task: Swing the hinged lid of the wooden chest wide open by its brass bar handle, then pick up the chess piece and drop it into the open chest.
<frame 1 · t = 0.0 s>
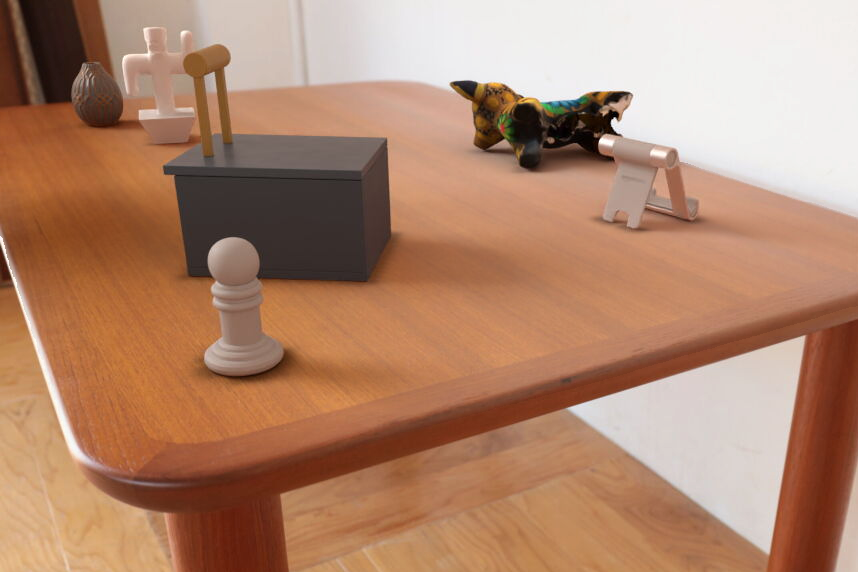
chess piece: (245, 363, 63), on the table
chest: (296, 254, 83), on the table
lid: (278, 106, 77), point 13 cm above the table, hinge at 0.0°
vase: (102, 125, 134), on the table
tablet stand: (642, 219, 95), on the table
figurine: (170, 141, 125), on the table
dog figurine: (540, 155, 121), on the table
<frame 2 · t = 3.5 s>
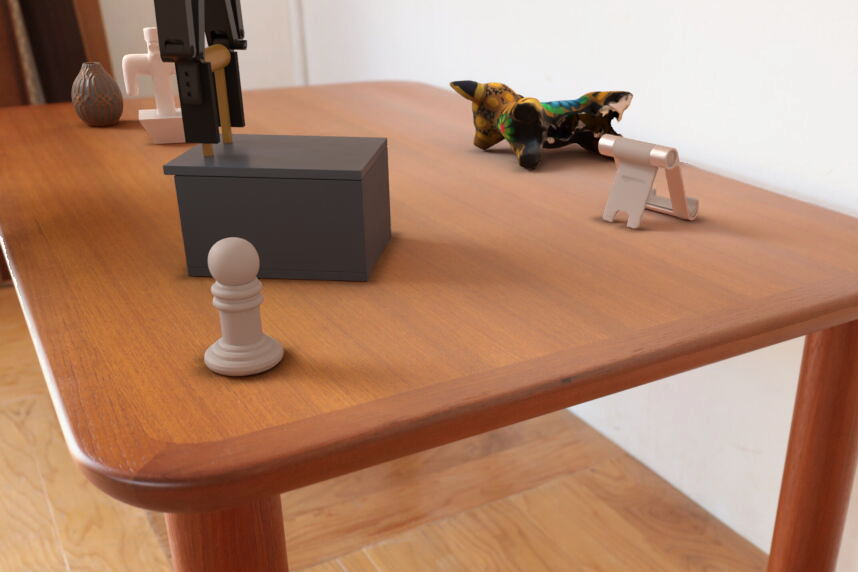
hand: (216, 133, 78), 11 cm above the table, tool pointing down, fingers closed on lid, 6 cm apart
lid: (278, 105, 77), point 14 cm above the table, hinge at 0.0°, touching gripper
everything else where it was.
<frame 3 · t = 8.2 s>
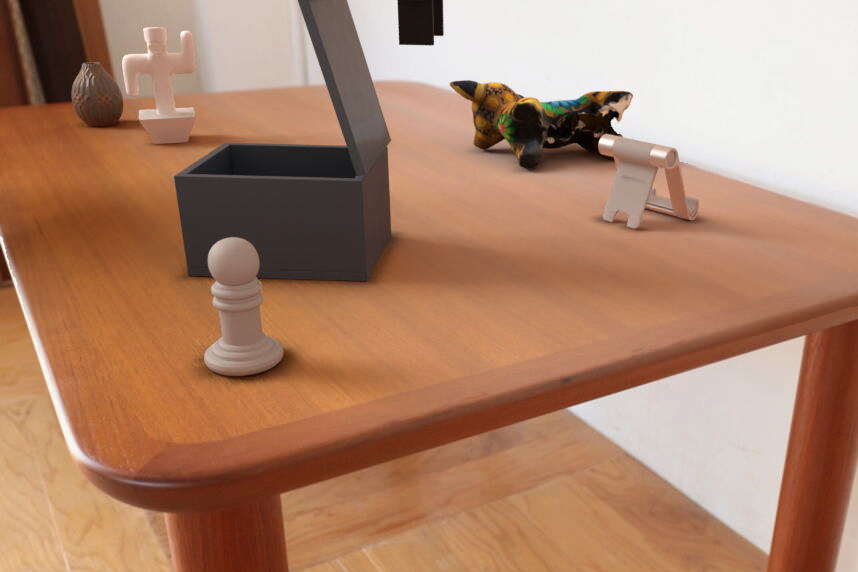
hand: (422, 39, 74), 19 cm above the table, tool pointing down, fingers closed on lid, 6 cm apart
lid: (392, 50, 75), point 18 cm above the table, hinge at 74.5°, touching gripper
everything else where it was.
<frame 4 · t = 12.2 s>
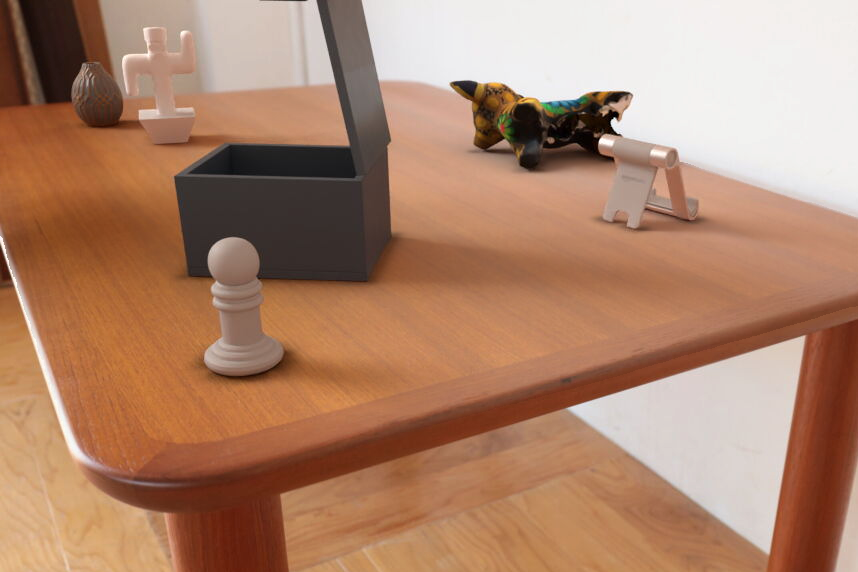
lid: (403, 53, 75), point 18 cm above the table, hinge at 80.2°
everything else where it was.
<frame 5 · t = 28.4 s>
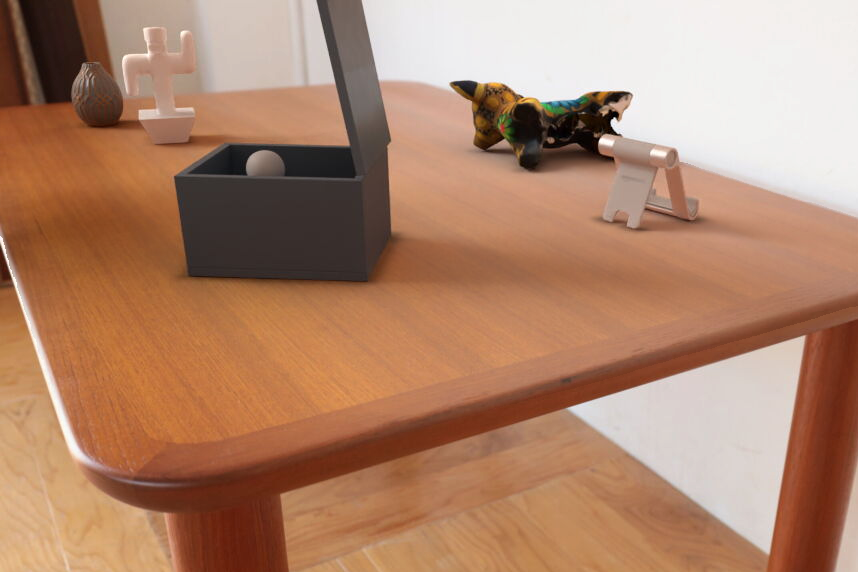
chess piece: (273, 251, 82), point 1 cm above the table, touching chest
everything else where it was.
at the end: lid at +80° (first picture: +0°); chess piece inside the target area in the chest (2.0 cm from its centre), point 0.6 cm above the chest's base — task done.
